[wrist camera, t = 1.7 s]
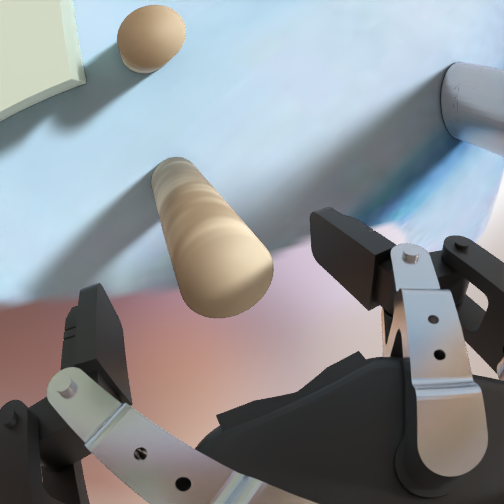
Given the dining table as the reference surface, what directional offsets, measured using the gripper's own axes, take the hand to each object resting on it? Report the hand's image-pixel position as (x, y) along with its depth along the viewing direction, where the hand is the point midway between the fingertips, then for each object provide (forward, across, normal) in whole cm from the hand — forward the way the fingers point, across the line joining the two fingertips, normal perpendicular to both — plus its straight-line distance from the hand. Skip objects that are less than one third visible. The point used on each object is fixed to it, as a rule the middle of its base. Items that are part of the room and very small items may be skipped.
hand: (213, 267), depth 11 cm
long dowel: (+11, 0, 0) cm, 11 cm away
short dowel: (+11, 0, -9) cm, 14 cm away
